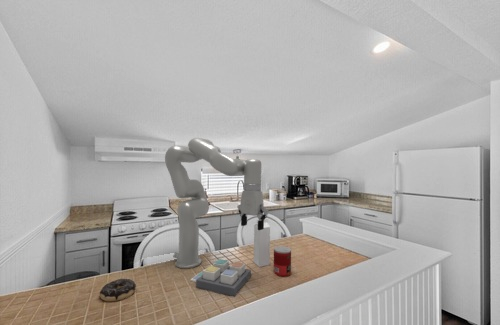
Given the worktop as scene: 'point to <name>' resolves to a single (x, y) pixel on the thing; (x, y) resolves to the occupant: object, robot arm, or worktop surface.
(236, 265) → the key terracotta
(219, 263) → the key teal
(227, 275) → the key slate
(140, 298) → the worktop surface
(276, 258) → the canned food
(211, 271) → the key mustard
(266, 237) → the milk
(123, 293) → the donut
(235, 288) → the keypad
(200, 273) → the strip
